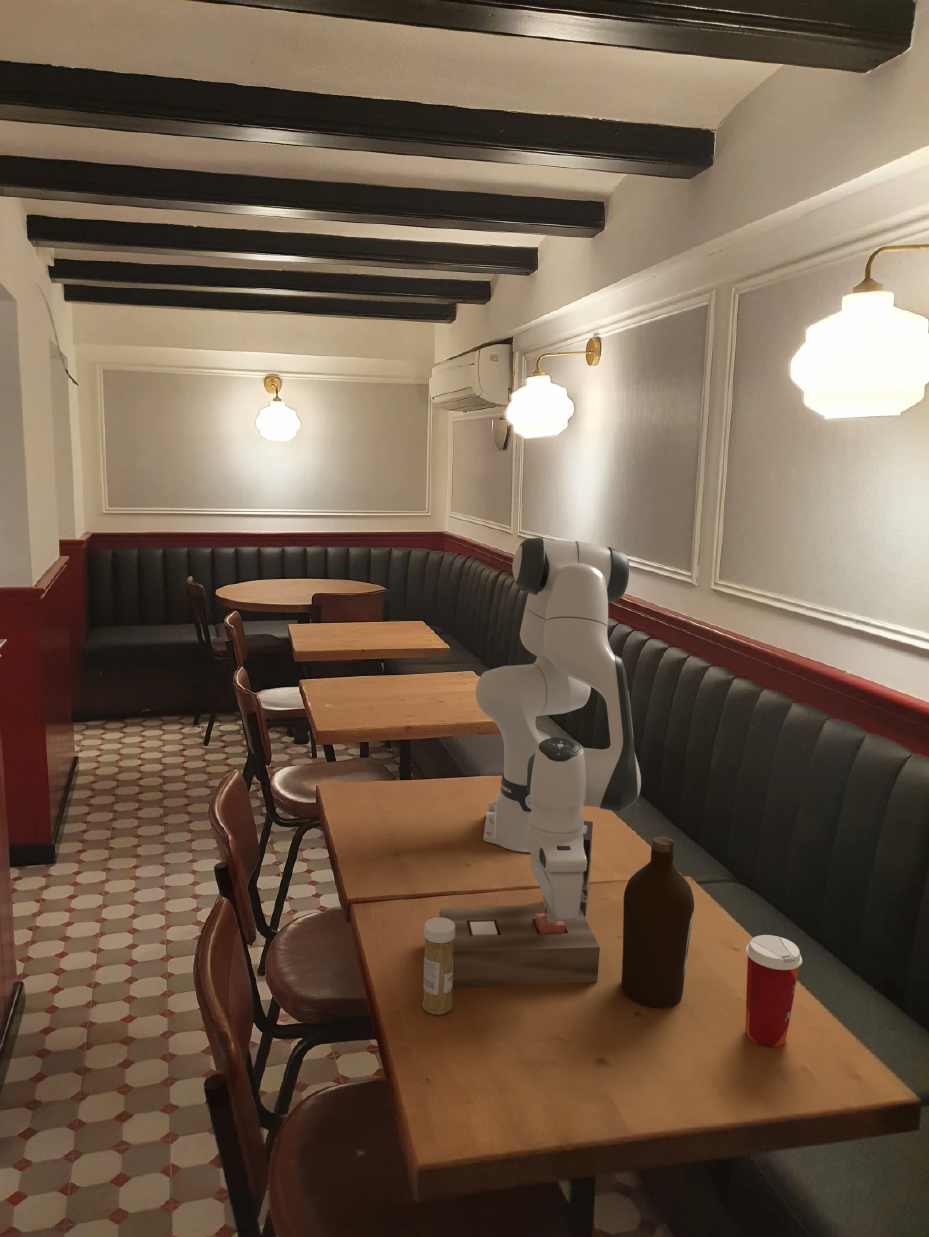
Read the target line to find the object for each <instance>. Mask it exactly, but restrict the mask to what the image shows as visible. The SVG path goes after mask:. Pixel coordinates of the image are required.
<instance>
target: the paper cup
mask: <svg viewBox="0 0 929 1237" xmlns="http://www.w3.org/2000/svg"><path fill="white" fill-rule="evenodd" d="M800 952H801V951H800V948H799V947H798V945H797V944H795V943H794V942H792V941H791V940H790V939H787V938H784V937H781V936H776V935H771V934H762V935H756V936H754V937H753V938H751V940H750V941H749V943H748V944H747V945H746V948H745V953H746V955H747V964H746V965H747V966H746V967H747V969H746V970H747V971H746V992H745V993H746V999H745V1001H746V1002H745V1034H746V1036H747V1037H748V1039H750V1041H751V1042H753V1043H754V1044H757V1045H759V1046H762V1047H766V1048H778V1047H782V1046H783V1045H785V1043H786V1040H787V1035H788V1031H789V1025H790V1021H791V1020H790V1019H791V1014H792V1011H793V1010H792V1008H793V1004H794V999H795V998H794V997H795V991H796V986H797V981H798V975H799V968H800V966H801V965H802V964H803V958H802V956H801V953H800Z"/></svg>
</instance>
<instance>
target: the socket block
mask: <svg viewBox="0 0 929 1237" xmlns="http://www.w3.org/2000/svg"><path fill="white" fill-rule="evenodd" d="M540 913H544V904H542V905H509V906H508V905H506V906H505V905H504V906H502V905H501V906H500V905H499V906H465V907H461V906H460V907H456V906H455V907H439V917H442V918H447V919H450V920H451V921H453V922H454V924H455V937H454V940H453V986H452V988H464V987H466V988H469V987H492V986H493V987H497V986H522V985H523V986H525V985H553V984H575V983H577V984H579V983H580V984H581V983H584V984H585V983H598V977H599V976H598V975H599V965H600V950H601V947H600V945H599V942H598V941H597V938H596V937H595V935H594V933H593V930H592V928H591V927H590V925H589V923H588V921H587V919H586V917H584V915H583V913H582V911H581V909H579V914H578V916H577V918H576V919H575V920H574V921H563V922H564V924H565V933H559V934H538V933H537V930H536V928H535V920H536V914H540ZM489 921H494V923H495V927H496V930H497V933H498V935H490V936H470V933H469V930H470V922H489Z"/></svg>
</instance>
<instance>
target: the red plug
mask: <svg viewBox="0 0 929 1237" xmlns="http://www.w3.org/2000/svg"><path fill="white" fill-rule="evenodd" d="M535 928H536V930H537V933H538V934H559V933H565V924H564V922H563V921H558V922H557V923H555V924H549V923H548V922H547V919H546V917H545V915H544V913H540V914H536V920H535Z"/></svg>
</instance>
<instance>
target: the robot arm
mask: <svg viewBox="0 0 929 1237" xmlns="http://www.w3.org/2000/svg"><path fill="white" fill-rule="evenodd" d="M511 569H512V574H513V575H512V576H513V581H514V584H515V585H516V586H517V587H518V588H519V589H520V590H521V591H523V592H526V593H528V595H527V598H526V603H525V606H524V612H523V616H522V617H523V618H522V620H521V626H520V631H519V638H520V640H521V641H520V642H521V643H522V645H523V647H524V648H525V649H526V650H527V651H528V653H529V652H530V653H531V654H533V656H536V660H535V661H534V663H530V664H517V665H503V666H499V667H496V668H493V669H492V668H491V669H490V670H487V671H484V672H483V673H482V674H481V675H480V677H479V678H478V680H477V684H476V687H475V698H476V702H477V704H478V707H479V708H480V710H481V711H482V712H483V713H484V714H485V715H486V716H487V717H488V718H490V719H491V720H492V721H493V722H494V723H495V724H496V726H497V728H498V730H499V731H500V734H501V737H502V740H503V741H502V742H503V751H504V752H503V753H504V754H503V755H504V756H503V757H504V759H503V760H504V762H503V769H504V770H503V773H502V774H503V775H501V780H500V791H499V793H498V794H496V799H495V800H496V801H488V806H487V807H488V810H487V812H486V816H485V823H484V830H483V831H484V832H483V838H482V839H483V841H484V842H487V843H491V844H496V845H498V846H500V847H502V848H504V849H508V850H510V851H515V852H520V853H530V868H531V870H532V872H533V874H534V877H535V880H536V881H537V883H538V886H539V887H540V891H541V893H542V900H543V905H544V915H545V917H546V919H547V922H548V923H549V924H555V923H557V922H558V921H574V920H575V919H576V918H577V916H578V914H579V909H580V901H581V893H582V872H583V871H586V869H587V859H586V855H585V851H584V847H583V841H584V838H583V828H584V821H585V820H584V817H583V807H591V808H592V807H594V808H599V809H600V810H601V809H602V810H605V811H611V812H616V813H617V812H618V813H621V812H622V811H624V810H627V809H628V808H630V807H631V806H633V804H634V803H636V802H637V801H638V799H639V796H640V793H641V787H642V776H641V771H640V766H639V763H638V759H637V755H636V751H635V743H634V730H633V720H632V712H631V711H632V709H631V701H630V700H631V699H630V691H629V688H628V679H627V673H626V672H627V671H626V669H625V664H624V662H623V660H622V658H621V657H620V656H618V655H616V654H614V652H613V650H612V648H611V645H610V642H609V636H608V627H609V626H608V623H609V603H613V602H617V601H618V600H619V599H621V598H623V596H624V595H625V593H626V591H627V588H628V587H629V582H630V580H631V569H630V560H629V559H628V557H627V555H626V553H625V552H623V551H621V550H619V549H616V548H614V547H611V546H608V547H604V546H602V545H598V544H593V543H589V542H584V541H580V540H579V541H578V540H575V541H572V540H562V539H543V538H542V537H531V538H530V537H529V538H526V539H524V540H523V541H522V542H521V543H520V544H519V546H518V549H517V550H516V551H515V554H514V556H513V559H512V568H511ZM592 688H593V689H594V690H595V691H596V692H598V693H599V694H600V695H601V696H602V698H603V700H604V701H605V704H606V711H607V717H608V718H607V720H608V721H607V722H608V730H609V737H610V739H609V740H610V746H609V747H607V748H604V749H599V748H591V747H590V748H589V747H584V746H582V744H581V743H580V742H578V741H577V740H574V739H572V738H570V737H562V736H555V737H554V736H553V737H551V736H550V735H549V734H547V733H545V732H544V731H541V729H540V730H539V729H537V724H536V722H537V721H536V719H537V717H539V716H540V717H541V716H551V715H562V714H566V713H570V712H572V711H576V710H579V709H581V708H583V707H584V706H585V705H587V703H588V701H589V698H590V695H591V691H592Z"/></svg>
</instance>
